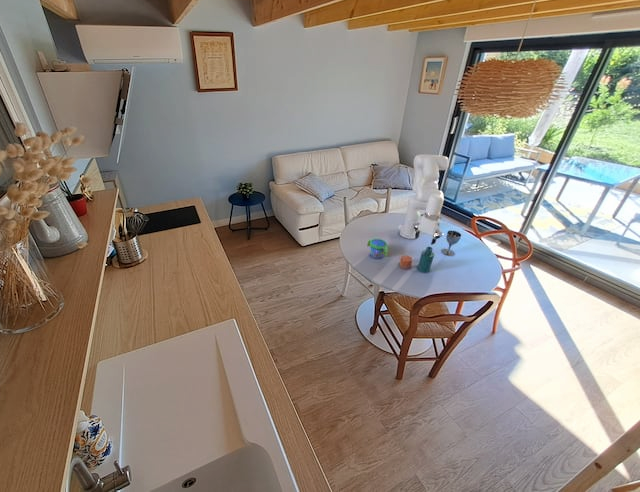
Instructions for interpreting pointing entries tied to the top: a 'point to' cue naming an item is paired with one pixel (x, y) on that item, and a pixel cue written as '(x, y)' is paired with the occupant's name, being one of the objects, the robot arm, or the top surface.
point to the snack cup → (377, 248)
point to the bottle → (426, 260)
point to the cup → (405, 262)
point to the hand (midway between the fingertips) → (424, 240)
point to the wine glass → (451, 241)
